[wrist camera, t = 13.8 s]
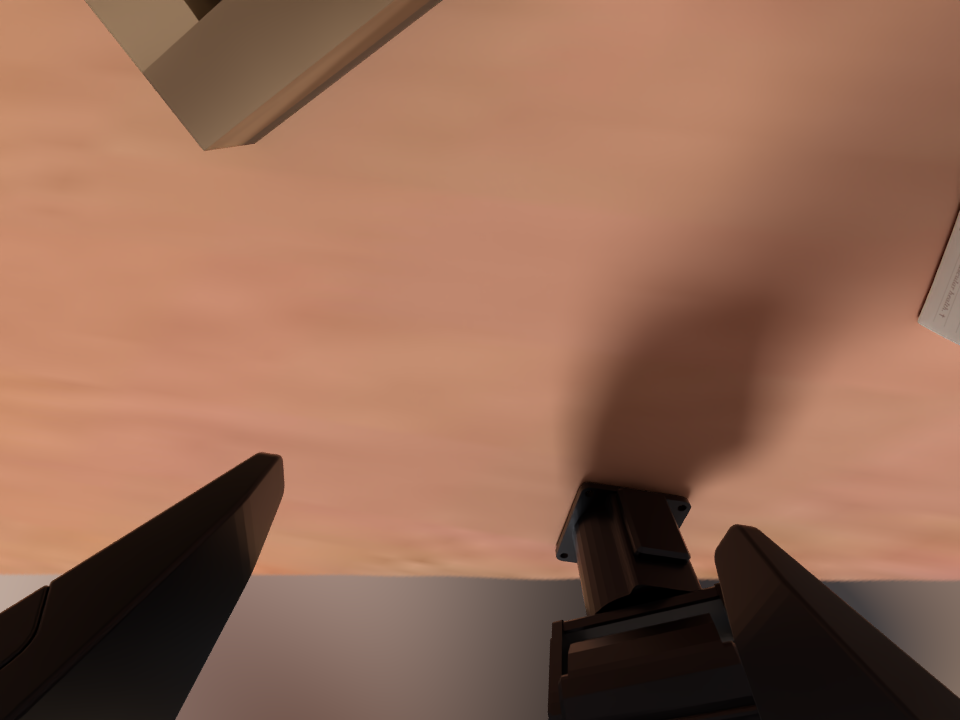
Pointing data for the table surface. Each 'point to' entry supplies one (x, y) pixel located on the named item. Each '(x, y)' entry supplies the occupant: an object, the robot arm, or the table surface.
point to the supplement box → (945, 293)
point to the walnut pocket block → (249, 55)
